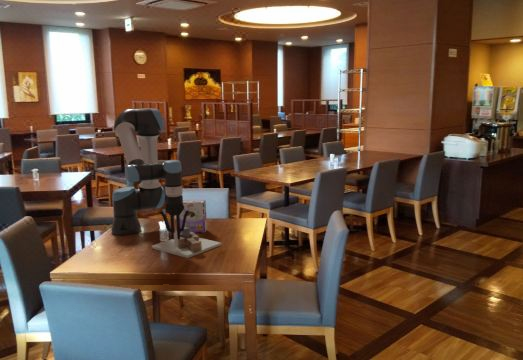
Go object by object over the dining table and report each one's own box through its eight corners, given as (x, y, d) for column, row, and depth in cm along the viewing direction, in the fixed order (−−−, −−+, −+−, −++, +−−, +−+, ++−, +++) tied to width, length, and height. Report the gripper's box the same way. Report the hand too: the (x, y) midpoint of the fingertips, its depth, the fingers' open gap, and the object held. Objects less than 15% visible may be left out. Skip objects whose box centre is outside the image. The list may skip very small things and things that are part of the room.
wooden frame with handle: (174, 242, 221) (173, 234, 220) (192, 239, 225) (192, 231, 224) (186, 253, 205) (186, 244, 204) (206, 250, 209) (205, 241, 209)
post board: (151, 248, 218) (150, 229, 216) (186, 236, 235) (185, 219, 234) (188, 258, 203) (187, 238, 202) (222, 245, 220) (221, 227, 219)
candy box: (207, 230, 247) (206, 199, 244) (205, 233, 241) (203, 202, 238) (182, 229, 248) (180, 199, 245) (179, 232, 242) (177, 202, 239)
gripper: (157, 197, 202) (160, 249, 206) (188, 196, 203) (190, 248, 207) (160, 193, 209) (163, 243, 214) (189, 192, 210) (191, 242, 214)
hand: (176, 245), depth 210 cm, fingers closed
